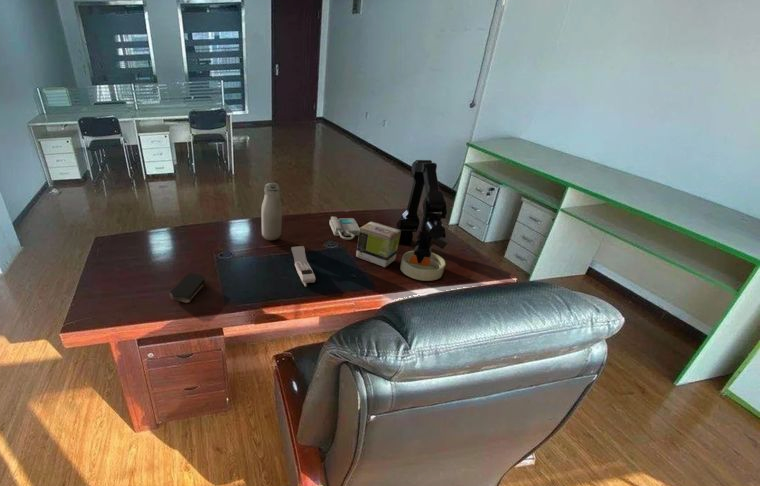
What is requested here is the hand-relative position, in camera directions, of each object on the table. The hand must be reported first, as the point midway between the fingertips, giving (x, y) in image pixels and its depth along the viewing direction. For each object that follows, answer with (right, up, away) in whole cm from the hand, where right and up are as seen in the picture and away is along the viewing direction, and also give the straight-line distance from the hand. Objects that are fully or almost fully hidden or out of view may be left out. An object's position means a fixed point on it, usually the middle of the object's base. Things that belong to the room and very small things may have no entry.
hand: (419, 261), depth 168 cm
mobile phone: (-49, -4, +3) cm, 50 cm away
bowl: (+1, -4, +2) cm, 5 cm away
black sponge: (-97, -13, -9) cm, 98 cm away
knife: (+1, -1, 0) cm, 2 cm away
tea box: (-16, +2, +12) cm, 19 cm away
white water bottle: (-62, +14, +28) cm, 70 cm away
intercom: (-24, +18, +33) cm, 44 cm away
